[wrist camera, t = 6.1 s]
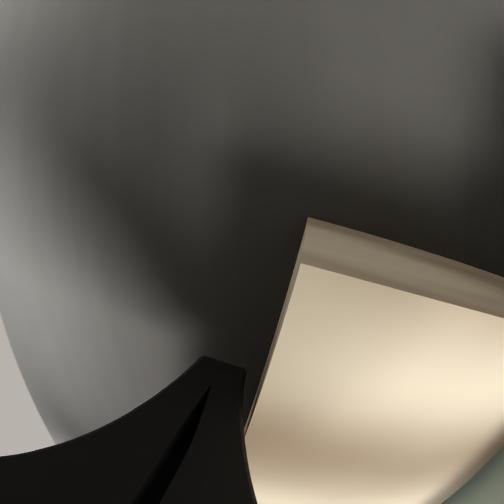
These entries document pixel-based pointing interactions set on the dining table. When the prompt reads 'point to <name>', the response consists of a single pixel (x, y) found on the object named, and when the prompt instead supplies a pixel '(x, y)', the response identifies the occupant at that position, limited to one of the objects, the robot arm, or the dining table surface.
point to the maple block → (378, 376)
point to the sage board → (483, 484)
